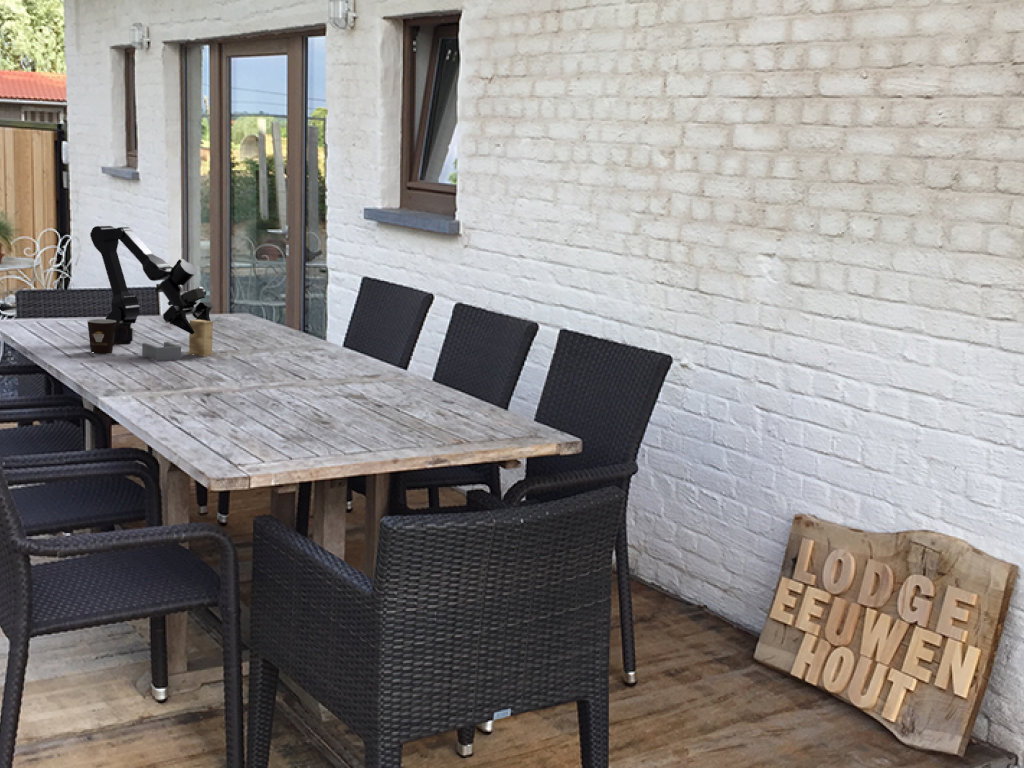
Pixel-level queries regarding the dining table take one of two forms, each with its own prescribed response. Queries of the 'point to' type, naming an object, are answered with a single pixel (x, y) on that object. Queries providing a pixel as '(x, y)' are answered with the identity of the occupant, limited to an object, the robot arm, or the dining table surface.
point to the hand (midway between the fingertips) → (202, 332)
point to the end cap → (161, 351)
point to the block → (201, 337)
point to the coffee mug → (103, 335)
